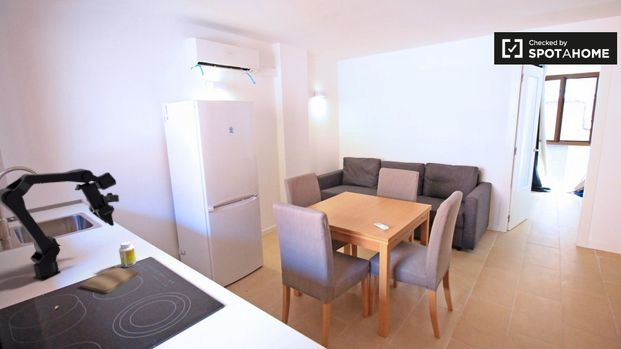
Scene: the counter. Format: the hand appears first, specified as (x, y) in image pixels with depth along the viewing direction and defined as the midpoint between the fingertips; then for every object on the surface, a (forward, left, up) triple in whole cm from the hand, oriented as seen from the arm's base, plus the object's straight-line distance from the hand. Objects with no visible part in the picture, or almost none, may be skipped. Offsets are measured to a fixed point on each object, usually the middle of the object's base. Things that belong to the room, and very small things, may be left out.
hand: (110, 224), depth 142 cm
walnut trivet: (-19, -21, -14) cm, 32 cm away
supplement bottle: (-7, -17, -15) cm, 23 cm away
